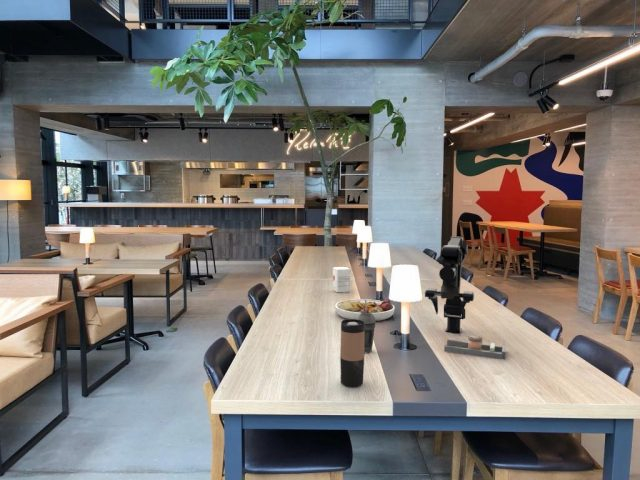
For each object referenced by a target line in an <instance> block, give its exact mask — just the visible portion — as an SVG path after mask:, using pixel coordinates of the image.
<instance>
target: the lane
mask: <svg viewBox="0 0 640 480" xmlns="http://www.w3.org/2000/svg"><path fill="white" fill-rule="evenodd" d="M490 345H491V344H486V343H482V350H476V349H469V348H468V341H464V340H463V341H462V340H455V339H446V344H445V345H444V346H443V347H444V348H443V350H444V352H447V353H453V354H461V355H469V356H477V357H482V358H483V357H484V358H490V359H498V360H506V350H507V348H506V347H507V344H505V343H502V345H497V344H495V352H491V351H490Z"/></svg>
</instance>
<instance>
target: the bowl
mask: <svg viewBox="0 0 640 480" xmlns="http://www.w3.org/2000/svg"><path fill="white" fill-rule="evenodd" d="M365 300H366V307H367V311H368V312H371V313H372V314H373V315H374V317H375V321H376V322H380V321H384V320H387V319H390V318H391V317H392V316H393V315H394V313H395V308H396V307H395V305H394V304H392V302H391V300H390V299H388V298H385V299H383V300H379V299H378V300H377V299H369V298H364V299H363V298H362V299H361V298H360V299H359V298H357V299H356V298H355V299H346V300H345V299H344V300H342V301H338V302H336V304H335V305H334V308H335V312H336V313H337V314H338V316H340V317H342V318H344V319H345V320H347V319H357V320H358V317H359V315H360V314H361V313H362V312H365Z"/></svg>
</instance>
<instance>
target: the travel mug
mask: <svg viewBox="0 0 640 480" xmlns="http://www.w3.org/2000/svg"><path fill="white" fill-rule="evenodd" d="M364 328H365V324H364V321H361V320H357V319H343V320H341V322H340V350H339V351H340V352H339V353H340V357H339V358H340V359H339V360H340V384H341V385H342V386H344V387H346V388H358V387H361V386H362V385H363V383H364V369H365V353H364Z"/></svg>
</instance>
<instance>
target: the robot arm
mask: <svg viewBox="0 0 640 480" xmlns="http://www.w3.org/2000/svg"><path fill="white" fill-rule="evenodd" d="M468 248H469V247H468V242H466V241H465V240H464V238H463V237H461V236H450V239H449V241H448V242H447V245H446V244H445V245H443V246H442V248H441V249H440V254H439V263H438V265H442V267H441V268H440V270H439V274H438V275H439V278H440V280H442V282H441V284H442V285H441V287H440V291H439V290H438V289H437V288H432V287H429V288H428V287H427V289H425V291H424V297H425V298H428V300H430V301H431V303H432V305H433V307H434V311H435V314H436V315H438V313H439V305H438V302H439V301H438V297H440V298H441V299H443V300H445V303H444V304H443V318H447V319H446V323H447V324H446V328H445V330H444V332H446V333H447V332H448V333H455V334H461V333H462V328H461V322H462V321H461V320H466V305H467V304H469V303H470V302H474V299H475V293H474V291H469V290H464V291H463V292H461V279H462V264H463V263H464V262H465V260H466V258H467V255H468Z"/></svg>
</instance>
